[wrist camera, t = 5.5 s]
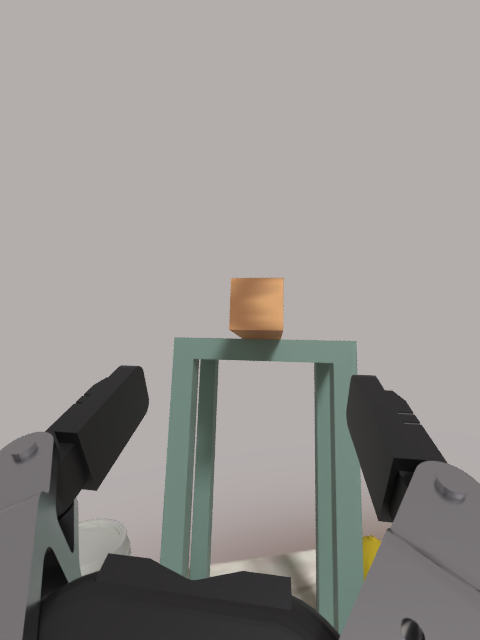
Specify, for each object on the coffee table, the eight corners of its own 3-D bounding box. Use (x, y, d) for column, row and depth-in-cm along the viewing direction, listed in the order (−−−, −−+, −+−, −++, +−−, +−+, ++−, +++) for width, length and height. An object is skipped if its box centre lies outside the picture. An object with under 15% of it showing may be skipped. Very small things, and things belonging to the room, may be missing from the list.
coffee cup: (137, 684, 25) (147, 541, 27) (20, 785, 19) (43, 592, 21) (102, 620, 31) (112, 507, 33) (5, 683, 25) (23, 539, 27)
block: (229, 329, 18) (231, 278, 18) (252, 345, 37) (253, 320, 38) (283, 330, 17) (283, 277, 18) (278, 346, 37) (278, 320, 38)
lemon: (401, 638, 30) (397, 557, 31) (347, 613, 33) (346, 540, 34) (399, 600, 35) (396, 532, 36) (353, 582, 38) (351, 519, 39)
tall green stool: (149, 731, 22) (174, 337, 27) (192, 601, 34) (205, 344, 38) (369, 779, 20) (356, 341, 24) (334, 622, 32) (329, 347, 36)
